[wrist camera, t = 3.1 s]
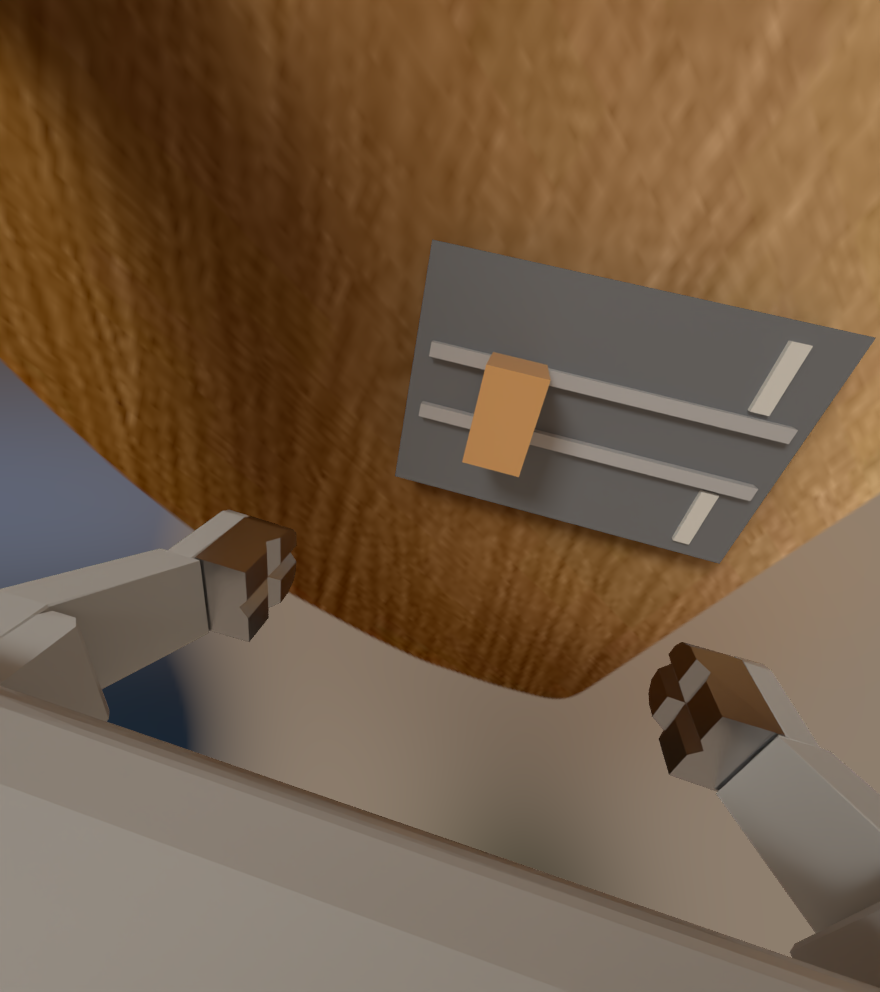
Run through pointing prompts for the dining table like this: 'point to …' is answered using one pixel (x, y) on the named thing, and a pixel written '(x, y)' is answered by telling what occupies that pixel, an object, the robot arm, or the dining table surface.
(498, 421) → the fader tab
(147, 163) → the dining table surface
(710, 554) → the fader console
